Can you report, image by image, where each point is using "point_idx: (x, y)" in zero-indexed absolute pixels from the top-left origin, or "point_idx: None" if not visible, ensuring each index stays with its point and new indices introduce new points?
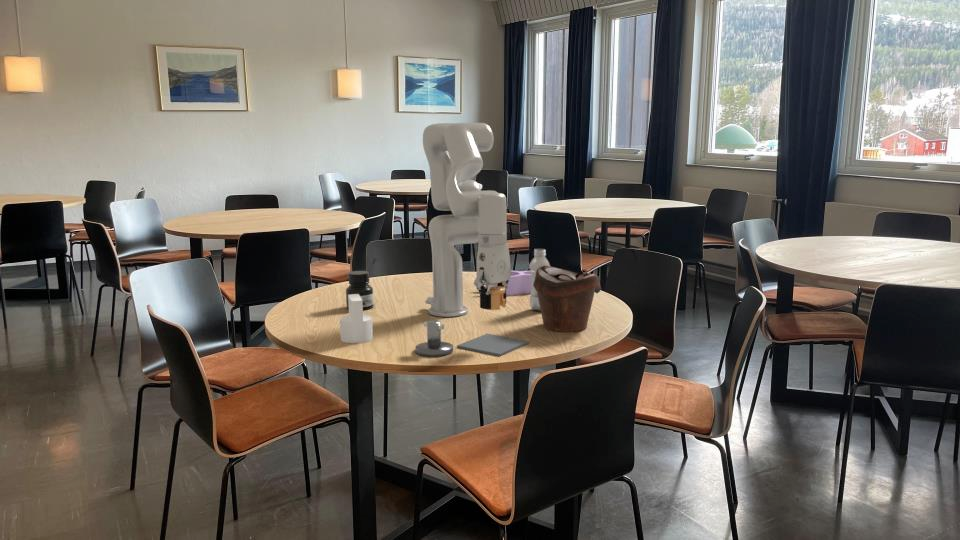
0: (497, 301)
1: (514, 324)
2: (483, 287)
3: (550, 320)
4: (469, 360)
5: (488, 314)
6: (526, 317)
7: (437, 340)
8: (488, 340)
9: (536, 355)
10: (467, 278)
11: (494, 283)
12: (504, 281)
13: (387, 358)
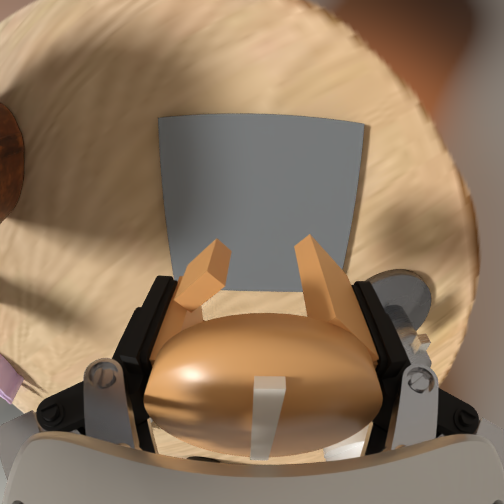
0: (334, 285)
1: (55, 275)
2: (467, 420)
3: (6, 169)
4: (429, 193)
5: (64, 350)
6: (14, 280)
7: (408, 320)
8: (239, 244)
9: (279, 18)
10: (25, 406)
11: (445, 443)
12: (107, 435)
13: (442, 340)
